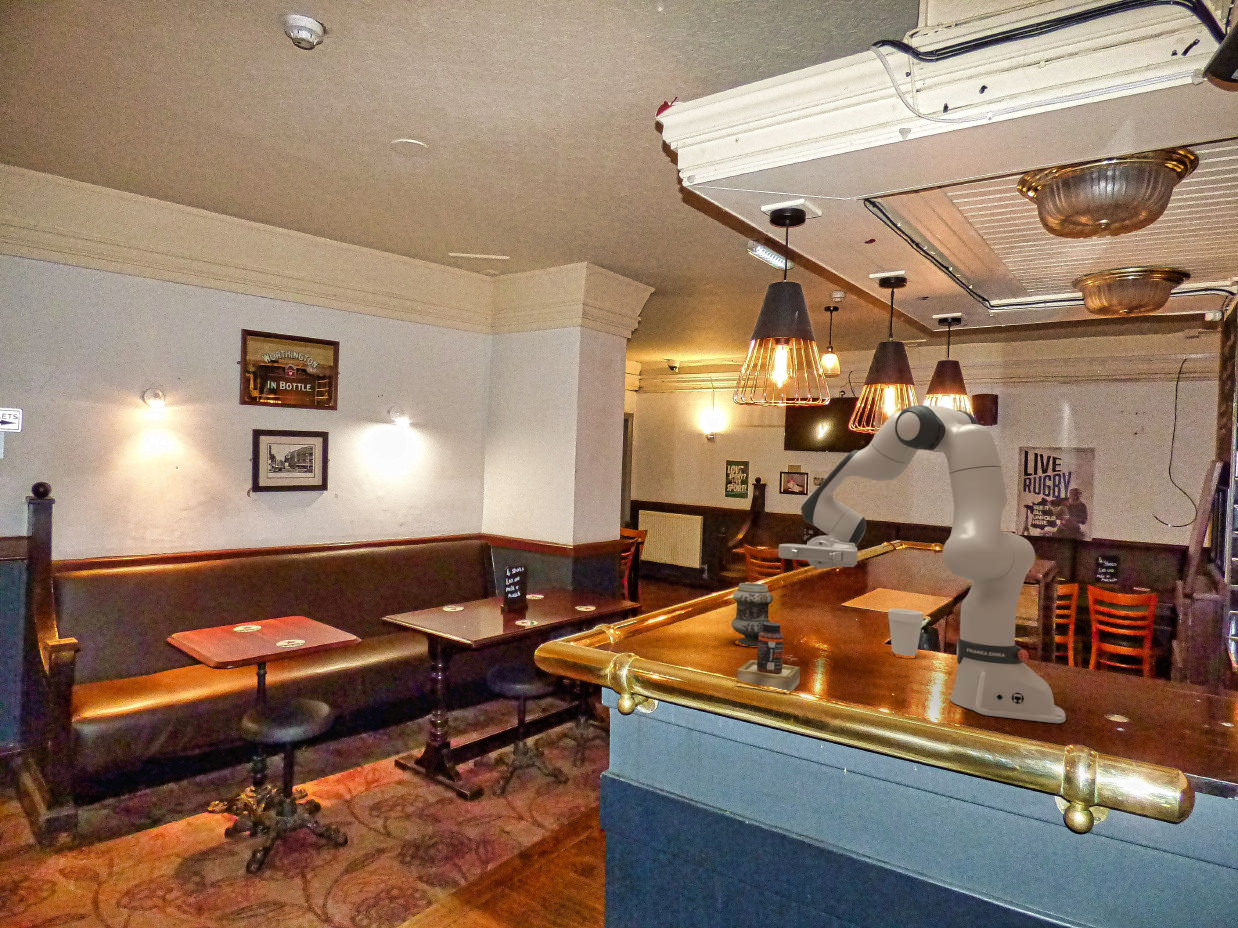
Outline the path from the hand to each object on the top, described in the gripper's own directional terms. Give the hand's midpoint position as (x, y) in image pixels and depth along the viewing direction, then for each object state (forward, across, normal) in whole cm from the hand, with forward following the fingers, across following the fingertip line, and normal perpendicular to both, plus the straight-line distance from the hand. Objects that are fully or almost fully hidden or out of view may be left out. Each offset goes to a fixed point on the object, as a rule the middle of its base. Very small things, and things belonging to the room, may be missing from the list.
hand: (812, 555), depth 187 cm
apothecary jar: (-27, -22, +30) cm, 46 cm away
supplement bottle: (+17, -6, +27) cm, 33 cm away
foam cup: (-40, +20, +30) cm, 54 cm away
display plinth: (+17, -6, +30) cm, 35 cm away
